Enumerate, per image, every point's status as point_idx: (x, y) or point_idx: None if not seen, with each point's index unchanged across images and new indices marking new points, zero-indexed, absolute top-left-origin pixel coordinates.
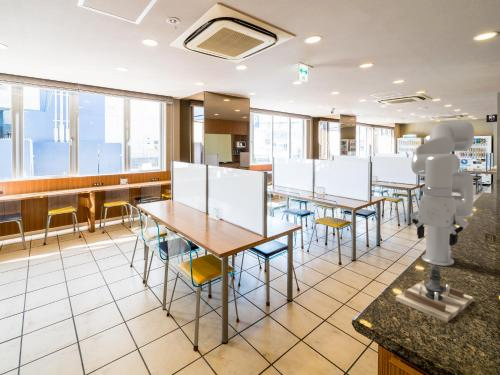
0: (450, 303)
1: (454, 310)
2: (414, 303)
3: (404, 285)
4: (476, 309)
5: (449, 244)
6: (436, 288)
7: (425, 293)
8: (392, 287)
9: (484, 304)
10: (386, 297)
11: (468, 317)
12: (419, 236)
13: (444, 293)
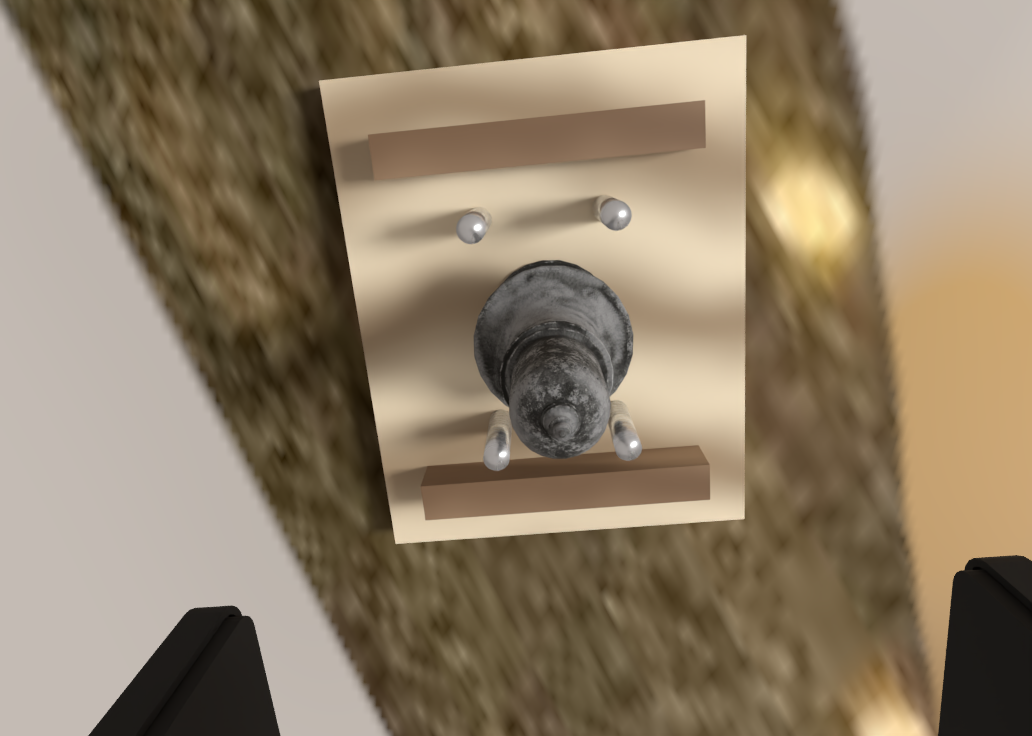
0: (425, 320)
1: (353, 238)
2: (577, 63)
3: (820, 359)
4: (333, 437)
5: (236, 622)
6: (514, 309)
7: None
8: (871, 238)
9: (344, 542)
10: (812, 15)
11: (300, 287)
12: (1016, 593)
13: None
